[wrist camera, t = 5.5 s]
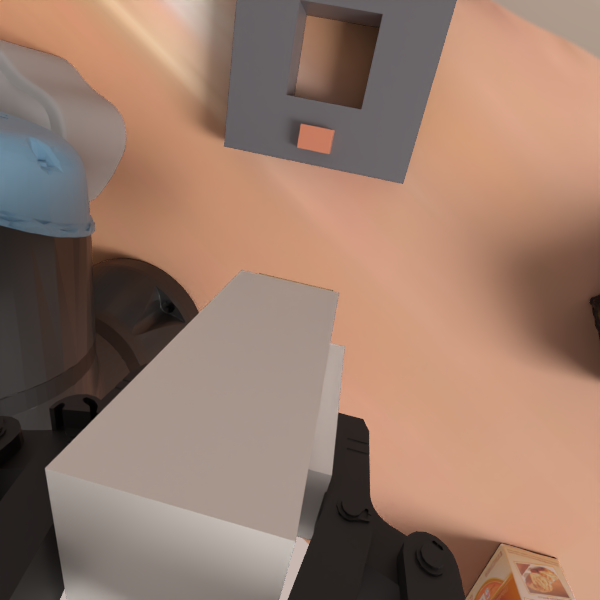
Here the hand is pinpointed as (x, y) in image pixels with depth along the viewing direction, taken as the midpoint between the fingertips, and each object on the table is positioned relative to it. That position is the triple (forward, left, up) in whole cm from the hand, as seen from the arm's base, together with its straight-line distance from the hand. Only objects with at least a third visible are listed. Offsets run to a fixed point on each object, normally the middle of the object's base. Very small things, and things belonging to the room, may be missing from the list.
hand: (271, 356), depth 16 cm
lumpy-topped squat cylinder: (-25, +4, -19) cm, 32 cm away
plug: (0, -2, -4) cm, 4 cm away
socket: (-2, +14, -19) cm, 23 cm away
